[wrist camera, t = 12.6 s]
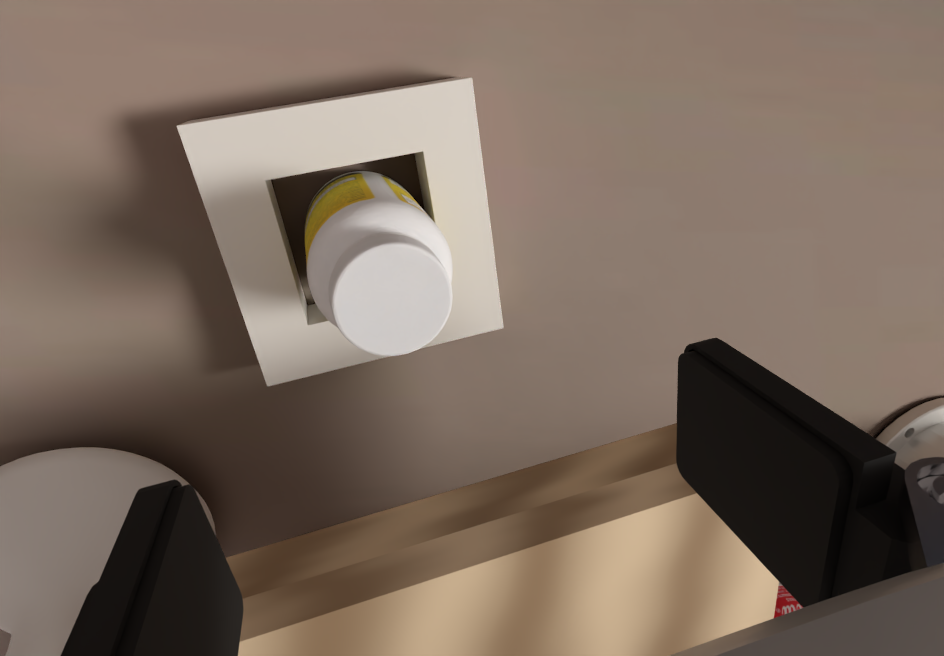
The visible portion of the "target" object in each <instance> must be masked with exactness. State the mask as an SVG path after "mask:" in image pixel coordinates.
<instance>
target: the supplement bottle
mask: <svg viewBox="0 0 944 656" xmlns="http://www.w3.org/2000/svg"><path fill="white" fill-rule="evenodd" d="M305 250H306V264H307V278H308V284H309V288H310V292H311V295H312V297H313V299H314V301H315V303H316V305H317V307H318V308H319V310H320V311H321V313H322V314H323V315H324V316H325V317H326V318H327V320H329V321H330V322H331V323H332V324H333V325H335V326H336V327H337V328H339V330H340V332H341V333H342V334H343V336H344V337H345V338H346V339H347V340H348V341H349V342H351V343H352V344H353V345H355V346H356V347H358V348H359V349H361V350H363V351H366V352H368V353H372V354H375V355H381V356H398V355H403V354H408V353H410V352H413V351H416V350H418V349H420V348H421V347H423V346H425V345H426V344H428V343H429V342H430V341H432V340H433V339H434V338H435V337H436V336H437V335H438V334H439V332H440V331H441V330H442V328H443V327H444V325H445V323H446V321H447V319H448V317H449V314H450V311H451V306H452V286H451V282H452V272H453V264H452V257H451V252H450V249H449V246H448V243H447V241H446V239H445V237H444V235H443V233H442V232H441V230H440V229H439V228H438V226H437V225H436V224H435V222H434V221H433V220H432V219H431V218H430V217H429V216H428V214H427V213H426V212H425V211H424V210H423V209H422V208H421V206H420V205H419V204H418V203H417V202H416V200H415V199H414V198H413V197H412V196H411V195H410V194H409V193H408V191H406V190H405V189H404V188H403V187H402V186H401V185H400V184H398V183H397V182H396V181H394V180H393V179H391V178H389V177H387V176H384V175H382V174H379V173H375V172H369V171H356V172H349V173H346V174H342V175H340V176H338V177H335V178H333V179H332V180H330V181H329V182H327V183H326V184H325V185H324V186H323V187H322V188H321V189H320V190H319V191H318V192H317V193H316V195H315V196H314V197H313V199H312V201H311V203H310V205H309V208H308V210H307V214H306V219H305Z"/></svg>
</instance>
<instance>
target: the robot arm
mask: <svg viewBox="0 0 944 656" xmlns="http://www.w3.org/2000/svg"><path fill="white" fill-rule="evenodd" d="M676 463H677V467H678V470H679V472H680V474H681V476H682V477H683V478H684V480H685V481H686V482H687V483H688V484H689V485H690V486H691V487H692V488H693V489H694V491H695V492H696V493H697V494H698V495H699V496H700V497H701V498H702V499H703V500H704V501H705V502H706V503H707V505H708V506H709V507H710V508H711V509H712V510H713V511H714V512H715V513H716V514H717V515H718V516H719V517H720V519H721V520H722V521H723V522H724V523H725V524H726V525H727V526H728V527H729V528H730V529H731V530H732V531H733V533H734V534H735V535H736V536H737V537H738V538H739V539H740V540H741V541H742V542H743V543H744V544H745V546H746V547H747V548H748V549H749V550H750V551H751V552H752V553H753V554H754V555H755V556H756V557H757V558H758V560H759V561H760V562H761V563H762V564H763V565H764V566H765V567H766V568H767V569H768V570H769V571H770V572H771V574H772V575H773V576H774V577H775V578H776V579H777V580H778V581H779V582H780V583H781V584H782V585H783V586H784V588H785V589H786V590H787V591H788V592H789V593H790V594H791V595H792V596H793V597H794V598H795V599H796V601H797V602H798V603H799V604H800V605H801V606H802V607H804V608H801V609H798V610H796V611H793V612H790V613H787V614H784V615H782V616H779V617H776V618H773V619H770V620H768V621H765V622H762V623H759V624H756V625H753V626H751V627H748V628H745V629H742V630H739V631H737V632H734V633H731V634H728V635H725V636H723V637H720V638H717V639H714V640H711V641H708V642H706V643H703V644H700V645H697V646H694V647H692V648H689V649H686V650H683V651H680V652H678V653H675V654H672V655H669V656H944V398H938V399H935V400H932V401H928V402H925V403H923V404H921V405H919V406H917V407H915V408H913V409H911V410H909V411H908V412H906V413H905V414H903V415H902V416H900V417H899V418H897V419H896V420H895V421H894V422H892V423H891V424H890V425H889V426H888V427H887V428H885V429H884V430H883V432H882V433H881V434H880V435H879V436H878V437H877V438H876V439H875V438H873V437H872V436H870V435H869V434H867V433H866V432H864V431H863V430H861V429H859V428H858V427H856V426H855V425H853V424H852V423H850V422H848V421H847V420H845V419H844V418H842V417H841V416H839V415H838V414H836V413H834V412H833V411H831V410H830V409H828V408H827V407H825V406H823V405H822V404H820V403H819V402H817V401H816V400H814V399H813V398H811V397H809V396H808V395H806V394H805V393H803V392H802V391H800V390H798V389H797V388H795V387H794V386H792V385H791V384H789V383H788V382H786V381H784V380H783V379H781V378H780V377H778V376H777V375H775V374H773V373H772V372H770V371H769V370H767V369H766V368H764V367H763V366H761V365H759V364H758V363H756V362H755V361H753V360H752V359H750V358H748V357H747V356H745V355H744V354H742V353H741V352H739V351H737V350H736V349H734V348H733V347H731V346H730V345H728V344H727V343H725V342H723V341H722V340H720V339H718V338H712V339H708V340H704V341H700V342H697V343H693V344H689V345H688V346H686V348H685V350H684V353H683V354H681V355H680V356H679V359H678V394H677V445H676ZM243 610H244V609H243V599H242V594H241V591H240V589H239V587H238V584H237V582H236V580H235V578H234V576H233V573H232V571H231V569H230V567H229V564H228V562H227V560H226V558H225V556H224V553H223V551H222V549H221V547H220V545H219V542H218V540H217V538H216V536H215V534H214V531H213V529H212V527H211V525H210V522H209V520H208V518H207V516H206V514H205V511H204V509H203V507H202V505H201V503H200V500H199V498H198V496H197V494H196V491H195V490H194V488H193V487H192V486H191V485H189V484H188V485H184V486H182V485H181V483H180V482H179V481H178V480H175V479H174V480H170V481H166V482H163V483H159V484H155V485H151V486H147V487H144V488H141V489H139V490H138V491H137V493H136V495H135V497H134V499H133V502H132V504H131V506H130V509H129V511H128V513H127V516H126V518H125V520H124V523H123V525H122V528H121V530H120V532H119V535H118V537H117V539H116V542H115V544H114V546H113V549H112V551H111V553H110V556H109V558H108V560H107V563H106V565H105V567H104V570H103V572H102V574H101V577H100V579H99V581H98V582H97V583H96V584H94V585H93V586H92V588H91V589H90V591H89V593H88V594H87V596H86V599H85V601H84V603H83V605H82V608H81V610H80V612H79V615H78V617H77V619H76V621H75V624H74V626H73V628H72V631H71V633H70V635H69V638H68V640H67V642H66V644H65V647H64V649H63V651H62V654H61V656H238V651H239V643H240V635H241V628H242V620H243Z"/></svg>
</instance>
